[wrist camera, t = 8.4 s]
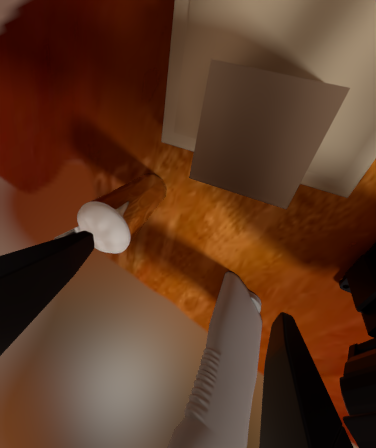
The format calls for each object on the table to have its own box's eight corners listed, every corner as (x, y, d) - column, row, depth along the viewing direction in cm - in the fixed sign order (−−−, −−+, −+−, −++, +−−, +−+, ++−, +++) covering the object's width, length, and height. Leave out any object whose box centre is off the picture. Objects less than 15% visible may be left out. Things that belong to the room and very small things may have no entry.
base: (500, -61, 10) (559, -99, 8) (340, 183, 17) (347, 199, 15) (201, -86, 12) (184, -119, 10) (173, 135, 19) (160, 142, 17)
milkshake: (122, 168, 23) (40, 214, 16) (167, 165, 21) (98, 217, 13) (134, 206, 26) (67, 263, 18) (176, 207, 24) (121, 272, 16)
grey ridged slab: (211, 270, 27) (76, 618, 10) (243, 266, 25) (143, 704, 7) (244, 328, 30) (188, 655, 13) (274, 328, 28) (255, 719, 11)
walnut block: (326, 83, 12) (350, 87, 7) (286, 168, 15) (286, 209, 10) (238, 65, 13) (211, 58, 8) (217, 148, 16) (189, 177, 11)
